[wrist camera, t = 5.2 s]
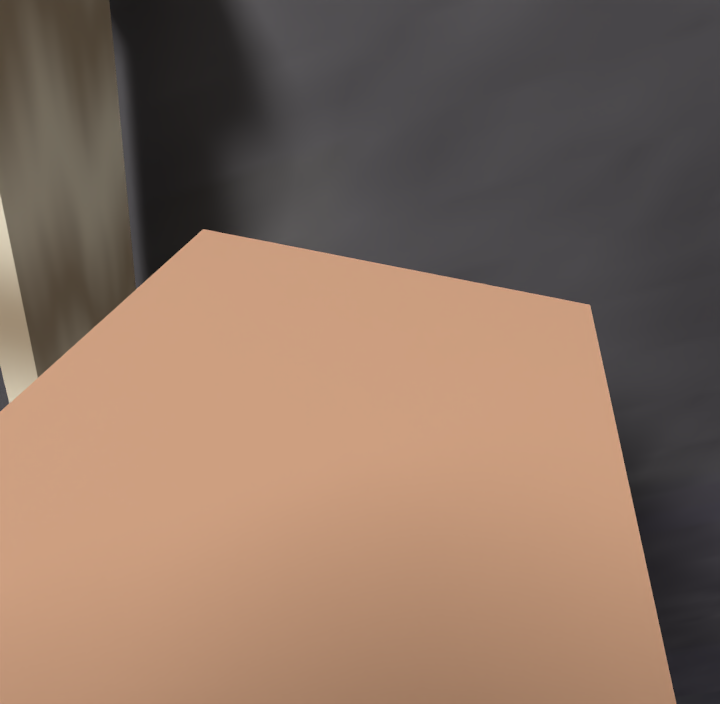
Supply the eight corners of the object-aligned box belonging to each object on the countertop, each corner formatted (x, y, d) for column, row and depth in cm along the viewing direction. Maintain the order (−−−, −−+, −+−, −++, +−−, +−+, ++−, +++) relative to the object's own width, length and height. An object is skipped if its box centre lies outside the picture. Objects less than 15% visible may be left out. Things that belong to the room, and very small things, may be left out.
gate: (150, 451, 24) (74, 555, 20) (125, 445, 24) (44, 547, 20) (105, -41, 15) (-48, -41, 11) (66, -47, 15) (-100, -49, 11)
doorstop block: (481, 602, 11) (455, 1132, 6) (210, 535, 12) (-17, 973, 7) (589, 304, 8) (725, 938, 3) (203, 229, 8) (-261, 647, 3)
